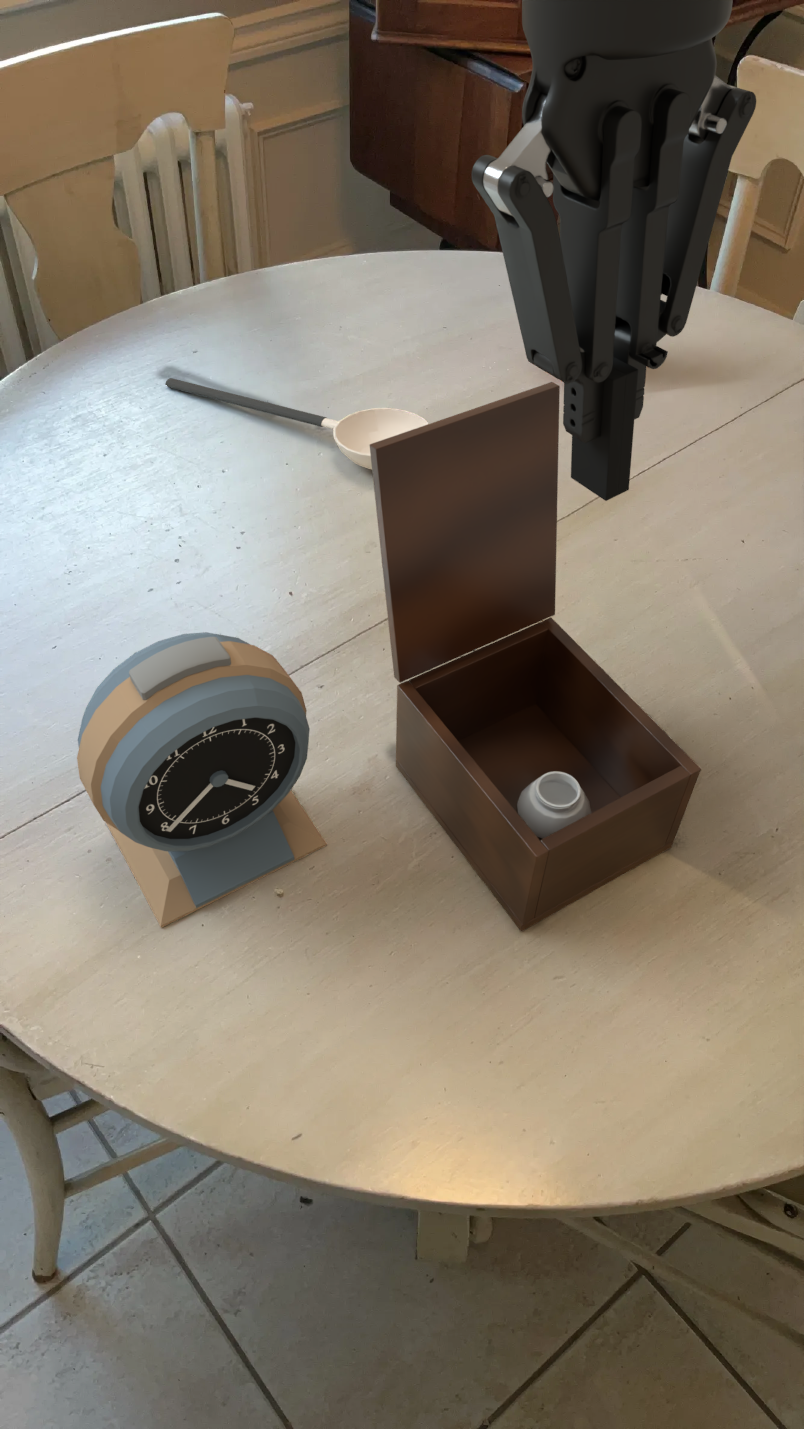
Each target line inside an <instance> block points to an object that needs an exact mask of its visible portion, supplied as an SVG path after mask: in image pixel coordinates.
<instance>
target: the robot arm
mask: <svg viewBox="0 0 804 1429" xmlns="http://www.w3.org/2000/svg"><path fill="white" fill-rule="evenodd" d="M733 1H734V0H521V24H522V25H521V26H522V30H523V33H524V37H525V40H526V42H527V45H528V49H529V52H530V56H531V62H532V69H531V75H530V79H529V84H528V86H527V90H526V92H525V94H524V95H525V96H524V98H523V101H522V102H523V103H522V107H521V120H522V123H523V127H522V128H521V129H520V131H519V132H517V134H516V135H515V136H514V138H513V139H512V141H510V143H509V144H508V145H507V146H506V148H505V149H504V150H503V152H502V153H501V154H500V155H499V157H495V156H493V155H489V154H484V155H480V157H478V159H477V160H475V162H474V164H473V166H472V169H471V181H472V184H473V186H474V187H475V189H476V190H477V192H478V193H479V195H480V196H481V197H482V199H483V201H484V202H485V204H486V205H487V206H488V208H489V210H490V212H491V213H492V214H493V216H494V220H495V224H496V230H497V235H498V238H499V243H500V247H501V250H502V256H503V261H504V264H505V269H506V273H507V277H508V282H509V288H510V291H511V295H512V299H513V304H514V308H515V312H516V316H517V321H518V325H519V330H520V334H521V340H522V343H523V347H524V351H525V356H526V359H527V361H528V362H529V363H530V364H532V365H534V366H535V367H537V368H538V369H540V370H542V371H543V372H545V373H547V374H548V375H550V376H552V377H554V378H555V379H557V380H559V381H561V382H562V383H563V407H562V408H563V413H562V424H563V428H564V430H565V432H566V433H568V434H570V435H571V458H570V459H571V460H570V479H572V480H574V481H575V482H577V483H578V484H580V485H581V486H583V487H584V488H586V489H588V490H589V491H590V492H592V493H593V494H594V495H596V496H598V497H599V498H600V499H602V500H603V501H605V502H608V501H609V500H611V499H614V498H615V497H618V496H619V495H621V494H623V493H625V492H628V491H629V490H630V480H631V466H632V455H633V453H632V452H633V442H634V430H635V429H634V428H635V420H637V419H639V418H640V416H641V414H642V410H643V408H644V399H645V396H644V395H645V387H646V378H647V368H649V369H651V370H656V369H659V368H660V367H661V366H663V364H664V363H665V361H666V359H667V357H668V353H669V351H668V350H666V349H663V348H662V347H660V346H658V345H657V343H658V342H659V341H661V340H662V339H663V338H664V337H666V336H669V337H677V336H678V335H679V334H681V333H682V332H683V330H684V329H685V327H686V324H687V321H688V317H689V314H690V310H691V306H692V303H693V300H694V296H695V292H696V290H697V285H698V281H699V278H700V273H701V270H702V266H703V263H704V260H705V256H706V253H707V249H708V245H709V241H710V239H711V234H712V231H713V226H714V223H715V220H716V217H717V216H716V215H717V213H718V209H719V205H720V202H721V198H722V195H723V191H724V187H725V184H726V181H727V180H726V179H727V176H728V173H729V169H730V165H731V162H732V157H733V155H734V154H735V151H736V149H737V147H738V145H739V143H740V141H741V139H742V138H743V135H744V133H745V131H746V129H747V127H748V126H749V123H750V122H751V119H752V117H753V115H754V113H755V110H756V107H757V96H756V94H755V92H753V91H750V90H747V89H743V88H740V87H737V86H734V85H731V84H727V83H726V82H725V81H724V80H722V79H721V78H720V77H718V76H717V75H716V73H717V67H718V66H717V55H716V51H715V48H714V44H713V38H714V37H715V36H717V35H718V34H719V33H720V32H721V31H722V30H723V29H724V28H725V27H726V25H727V24H728V22H729V20H730V18H731V14H732V10H733V3H734V2H733ZM547 166H548V167H549V169H550V170H551V172H552V175H553V176H552V181H551V180H549V175H548V171H547ZM551 196H552V202H553V206H554V208H555V210H556V212H557V214H558V216H559V227H558V222H557V218H556V215H555V212H554V209H553V206H552V205H551V202H550V201H549V198H550V197H551ZM662 295H663V296H665V297H666V299H665V300H666V301H664V300H663V299H661V298H662Z"/></svg>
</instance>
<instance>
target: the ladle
mask: <svg viewBox="0 0 804 1429" xmlns="http://www.w3.org/2000/svg"><path fill="white" fill-rule="evenodd" d="M164 385H167V386H168V387H167V388H169V387H171V388H170V389H174V390H177V391H181V392H185V393H188V394H193V395H196V396H199V397H204V398H207V399H208V398H209V399H212V400H215V401H218V402H219V401H220V402H224V403H227V404H230V405H231V404H232V405H235V406H238V407H243V408H247V409H251V410H255V411H258V412H262V413H266V414H269V415H274V416H278V417H282V418H285V419H288V420H294V421H298V422H301V423H305V424H308V425H312V426H316V427H321V428H326V429H331V430H333V433H332V434H333V435H332V436H333V439H334V441H335V444H336V445H337V447H338V449H339V450H340V452H341V453H342V454H343V455H344V456H345V457H347V458H348V459H349V460H350V461H351V462H353V463H354V464H356V465H357V466H360V467H363V468H366V469H369V470H372V464H371V454H370V444H372V443H375V442H378V441H381V440H384V439H387V438H390V437H393V436H396V435H399V434H401V433H404V432H407V431H410V430H413V429H416V428H419V427H422V426H425V425H428V424H430V422H428V420H427V419H426V418H424V417H422V416H421V415H419V414H417V413H414V412H413V411H412V412H411V411H408V410H405V409H400V408H393V407H372V408H367V409H361V410H357V411H355V412H353V413H350V414H348V415H346V416H344V417H343V418H341V419H340V420H335V419H332V418H328V417H326V416H322V415H318V414H315V413H310V412H307V411H303V410H298V409H295V408H291V407H287V406H283V405H279V404H275V403H271V402H268V401H263V400H260V399H255V398H252V397H247V396H243V395H239V394H236V393H231V392H228V391H223V390H220V389H216V388H213V387H208V386H204V385H200V384H196V383H192V382H188V381H185V380H181V379H177V378H173V377H170V378H168V379H166V381H165V383H164Z"/></svg>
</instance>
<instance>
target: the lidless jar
mask: <svg viewBox="0 0 804 1429" xmlns="http://www.w3.org/2000/svg"><path fill="white" fill-rule="evenodd" d="M517 809H518V814H519V816H520V817H521V818H522V819H523V820H524V822H525V823H526V824H527V825H528V826H529V828H530V829H531V830H532V831H533V833H534V834H535V835H536V836H537V837H540V838H545V837H547V836H549V835H551V834H553V833H555V832H557V831H559V830H560V829H562V828H564V827H566V826H568V825H570V824H572V823H574V822H576V821H577V820H579V819H581V818H583V817H585V816H587V815H589V814H591V808H590V802H589V800H588V798H587V797H586V795H585V793H584V792H583V790H582V789H581V787H580V785H579V783H578V782H577V780H576V779H575V778H573V777H572V776H571V775H569V774H567V773H564V772H558V771H553V772H548V773H546V774H544V775H542V776H541V777H539V778H538V779H536V780H535V781H533V782H532V783H531V784H529V785H528V786H527V787H526V788H525V789H524V790H523V791H522V792H521V795H520V797H519V800H518V803H517Z"/></svg>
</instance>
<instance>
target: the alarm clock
mask: <svg viewBox="0 0 804 1429" xmlns="http://www.w3.org/2000/svg"><path fill="white" fill-rule="evenodd" d="M307 711H308V710H307V707H306V704H305V700H304V696H303V693H302V691H301V690H300V688H299V687H298V686H297V684H296V683H295V681H294V680H293V679H292V677H291V675H289V674H288V671H286V669H285V668H284V667H283V666H282V664H281V663H280V662H279V661H278V660H277V658H276V657H275V656H274V655H273V654H271V653H269V652H267V651H265V650H264V649H262V648H260V647H259V646H257V645H254V644H251V643H249V642H247V641H245V640H243V639H241V638H239V637H235V636H228V635H224V634H219V633H213V632H207V631H205V632H204V631H203V632H193V633H182V634H179V635H174V636H171V637H168V638H164V639H161V640H158V641H156V642H154V643H152V644H150V645H148V646H146V647H144V648H142V649H140V650H138V651H136V652H134V653H133V654H131V655H130V656H129V657H128V658H126V659H124V661H122V662H121V663H120V664H118V665H117V666H116V667H114V668H113V669H112V670H111V671H110V672H109V674H107V676H106V677H105V678H104V680H102V681H101V682H100V684H99V685H98V686H97V687H96V688H95V690H94V692H93V694H92V696H91V698H90V699H89V701H88V703H87V705H86V707H85V709H84V712H83V714H82V719H81V722H80V727H79V732H78V736H77V745H78V751H77V756H76V762H77V770H78V775H79V780H80V782H81V785H82V786H83V788H84V789H85V792H86V793H87V795H88V797H89V798H90V801H91V803H92V805H93V806H94V808H95V810H96V811H97V813H98V814H99V816H100V817H101V819H102V821H104V823H105V824H106V826H107V828H108V829H109V831H110V834H111V835H112V838H113V839H114V841H115V843H116V845H117V847H118V849H119V850H120V852H121V854H122V857H123V858H124V861H125V862H126V864H127V865H128V867H129V869H130V871H131V873H132V876H133V877H134V879H135V881H136V883H137V885H138V886H140V887H139V888H140V891H141V892H142V895H143V896H144V898H145V900H146V902H147V903H148V905H149V907H150V910H151V911H152V914H153V915H154V918H155V919H156V921H157V923H158V925H159V926H160V928H161V929H162V928H164V927H167V926H168V925H170V924H172V923H174V922H176V921H178V920H181V919H182V918H184V917H185V916H188V915H190V914H192V913H194V912H196V911H199V910H200V909H202V908H204V907H207V906H208V905H210V904H212V903H214V902H216V901H218V900H220V899H223V898H224V897H226V896H228V895H230V894H232V893H234V892H236V891H238V890H240V889H242V888H244V887H247V886H248V885H251V884H252V883H254V882H256V881H258V880H260V879H262V878H264V877H267V876H269V875H270V874H272V873H274V872H276V871H279V870H280V869H282V868H285V867H286V866H288V865H290V864H292V863H295V862H296V861H298V860H300V859H303V858H305V857H307V856H308V855H310V854H313V853H314V852H317V851H318V850H321V849H323V848H324V847H326V846H328V842H327V840H325V838H324V837H323V836H322V833H321V832H320V831H319V830H318V828H317V826H316V825H315V823H314V822H313V821H312V819H311V818H310V816H309V815H308V813H307V812H306V810H305V809H304V807H303V805H302V804H301V803H300V802H299V800H298V798H297V797H296V795H295V794H294V793H293V791H292V789H293V788H294V786H295V784H296V783H297V782H298V781H299V779H300V777H301V774H302V772H303V769H304V767H305V765H306V762H307V760H308V753H309V743H310V742H309V740H310V725H309V721H308V718H307Z"/></svg>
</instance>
